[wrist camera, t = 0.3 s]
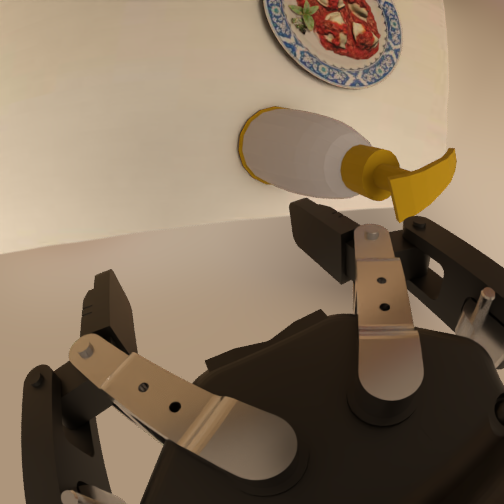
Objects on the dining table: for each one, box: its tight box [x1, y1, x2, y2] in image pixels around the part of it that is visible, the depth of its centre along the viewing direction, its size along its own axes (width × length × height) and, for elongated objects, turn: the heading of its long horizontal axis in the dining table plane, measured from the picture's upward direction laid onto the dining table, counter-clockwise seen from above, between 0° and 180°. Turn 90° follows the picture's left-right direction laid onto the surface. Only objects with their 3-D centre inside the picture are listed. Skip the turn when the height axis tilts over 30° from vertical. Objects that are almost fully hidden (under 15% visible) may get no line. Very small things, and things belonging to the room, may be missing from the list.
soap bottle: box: [238, 106, 457, 223], centre depth 29 cm, size 11×12×26 cm
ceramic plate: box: [263, 0, 403, 89], centre depth 33 cm, size 26×26×3 cm
